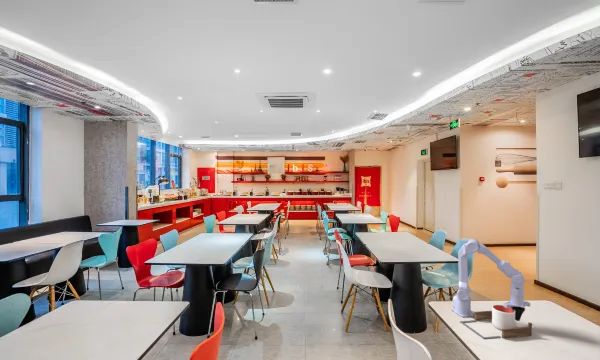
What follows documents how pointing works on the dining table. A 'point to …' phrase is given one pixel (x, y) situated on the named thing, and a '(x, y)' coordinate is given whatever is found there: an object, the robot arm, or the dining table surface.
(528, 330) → the wooden pieces
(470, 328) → the bracket
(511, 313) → the cup
